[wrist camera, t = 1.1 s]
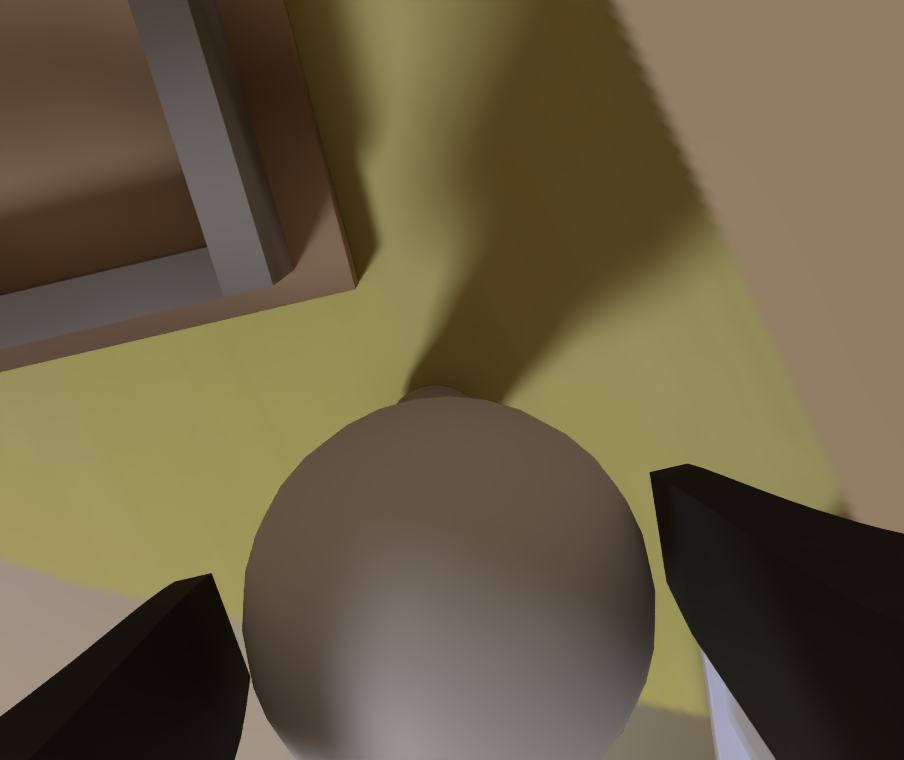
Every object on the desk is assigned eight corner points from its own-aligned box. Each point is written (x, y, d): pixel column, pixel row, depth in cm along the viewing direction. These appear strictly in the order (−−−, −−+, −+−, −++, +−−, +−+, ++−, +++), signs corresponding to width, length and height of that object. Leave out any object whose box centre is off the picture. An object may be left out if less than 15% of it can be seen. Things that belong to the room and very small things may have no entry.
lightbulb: (403, 259, 17) (386, 388, 7) (595, 392, 18) (843, 683, 8) (273, 450, 18) (80, 823, 8) (462, 563, 20) (518, 1017, 9)
